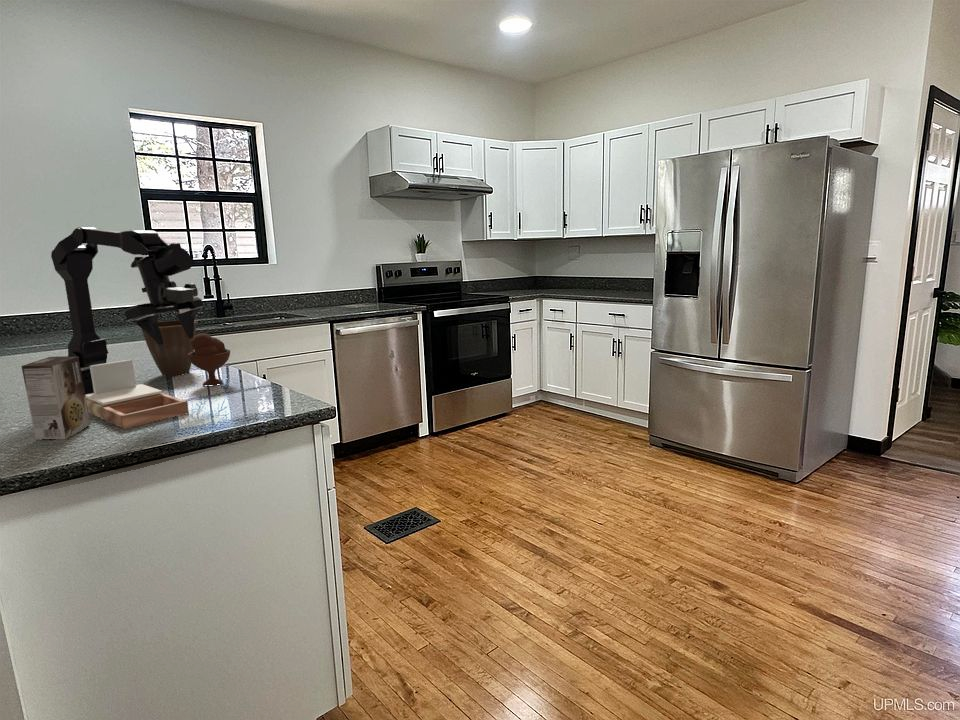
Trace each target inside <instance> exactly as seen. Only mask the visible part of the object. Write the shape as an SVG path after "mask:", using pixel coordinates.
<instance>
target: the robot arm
mask: <svg viewBox="0 0 960 720" xmlns="http://www.w3.org/2000/svg"><path fill="white" fill-rule="evenodd" d="M83 244H85V245H83ZM99 245H100V246H105V247H106V246H107V247H112V248H113V247H114V248H119V249H121V250H122V251H123V252H125V253H127V254H131V255H132V256H133V255H134V256H135V257H134V259H133V261H132V262H131V264H130V267H131V268H133V269H134V268H135V269H136V268H138V271H139V274H140V276H141V280H142V283H143V286H144V287H141V291H142V293H146V294H147V297H148V301H149V302H147V303H146V302H145V303H140V304H137V305H133V306H130V307H127V308H125V311H124V317H125V320H126V321H127V322H128V321H132V324H133V325H134V324H136V326H138V327H139V328H142V329H143V330H144V331H145V332H147V333H148V334H149V335H150V336H151V337H152V338H153V339H154V340H155V341H156V342H157V343H158V344H159V345H163V344H164V343H163V338H162V335H161V332H160V329H159V326H158V322H159V318H160V313H169V312H174V311H175V312H177V313H178V314H176V318H177V319H178V320H179V321H180V323H181V325H182V327H183V329H184V331H185V333H186V334H187V336H188V337H189V339H192V338H193V337H194V321H196V320H195V319H196V315H197V314H198V312H200V311H201V308H203V307H205V306H204V304H203V300H202V298H200V297H198V294H199V293H198V292H199V291H198V288H197V284H196V283H192V282H191V283H184V286H181V287H179V286H177V283H176V282H175V281H174V280H173V281H171V280H170V277H171V276H175V275H177V274H180V273H183V272H185V271H188V270H190V269H191V268H192V267H193V258H192V255H190V254H189V251H187V250H186V249H184V248H183V247H182V245H181V243H180V242H172V243H170V244H168V243H167V242H165V241H164V240H163V239H162V238H161V237H160V236H159V233H158V232H157V231H155V230H123V231H117V230H108V229H103V228H96V227H91V226H89V227H87V226H85V227H84V226H82V227H81V226H79V227H76V228H75V229H73V231H72V232H71V234H69V235H68V236H67V237H65V238H63V239H62V240H60V241H59V242H58V243H57V244H56V246H55V247H54V249H53V250H51V254H50V257H51V260H52V263H53V264H52V265H53V267H54V271H56V273H57V274H58V275H59V276H60V277H61V278H62V280H63V282H64V287H65V292H66V299H67V305H68V312H69V317H70V322H71V329H72V334H73V335H72V336H71V338H70V340H69V342H68V344H67V354H68V355H67V357H76V356H78V358H79V363H80V368H81V374H82V380H83V385H84V390H85V395H87V394H92V393H94V389H93V383H92V377H91V371H90V366H91V365H97V364H104V363H107V359H108V354H109V351H108V347H107V340H106V339H105V338H101V337H100V336H99V335H98V334H97V332H96V326H95V321H94V314H93V306H92V300H91V294H90V287H89V282H88V279H89V277H90V275H91V273H92V271H93V267H94V265H93V263H94V262H93V260H94V258H95V257H96V256H97V254H98V253H99V249H98V246H99ZM136 255H137V256H136ZM138 255H139V256H138ZM142 329H141V330H142Z"/></svg>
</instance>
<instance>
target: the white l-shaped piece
mask: <svg viewBox="0 0 960 720" xmlns="http://www.w3.org/2000/svg"><path fill="white" fill-rule="evenodd" d="M134 370H135V369H134V363H133V360H132V359H130V358H129V359H123V360H118V361H111V362H106V363H104V364H97V365H91V366H90V371H91V377H92V383H93V389H94V393H92V394H87V395H85V396H86V398H88V399H90V400H92V401H95V402H97V403H99V404H102V405H108V404H112V403H117V402H122V401H127V400H131V399H136V398H141V397H146V396H151V395H155V394H160V393H163V390H161V389H158V388H155V387H152V386H149V385H147V384H143V383H140V384H137V382H136V377H135V371H134Z"/></svg>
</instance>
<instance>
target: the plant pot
mask: <svg viewBox="0 0 960 720" xmlns="http://www.w3.org/2000/svg"><path fill="white" fill-rule="evenodd" d="M158 326H159V329H160V332H161V335H162V338H163V343H164V344H163V345H159V344H158V343H157V342H156V341H155V340H154V339H153V338H152V337H151V336H150V335H149V334H148V333H147V332H145V331H144V330H143V329H142V328H141V327H140V328H141V332H142V335H143V338H144V341H145V343H146V346H147V348H148V350H149V351H148V352H150V355H151V356H152V357H151V358H152V360H153V361H154V363H155V365H156V366H157V369H158V370H159V372H160V373H161V375H162V376H163V377H168V376H170V377H177V376H176V375H180V376H183V375H182V374H184V375H187V374H189V373H190V371H191V367H192V363H191V362H190V360H189V358H188V355H187V354H189V353H191V352H193V351H195V350H194V349H193V348H192V347H191V340H192V339H193V338H192V339H189V337H188V336H187V334H186V333H185V331H184V329H183V327H182V325H181V323H180V321H179V319H178V320H162V321H158ZM196 329H197V322H196V320H194V336H196V335H197V334H196ZM186 373H187V374H186Z"/></svg>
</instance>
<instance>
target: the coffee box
mask: <svg viewBox="0 0 960 720" xmlns="http://www.w3.org/2000/svg"><path fill="white" fill-rule="evenodd" d="M67 356H68V355H67ZM67 356H65V355H63V356H62V355H61V356H47V357H46V358H42V359H39V360H35V361H32V362H29V363H27V364H24V365H20V366H21V371H22V375H23V376H22V377H23V381H24V386H25V391H26V396H27V400H28V401H27V402H28V407H29V412H30V417H31V422H32V428H33V432H34V437H35V440H36V441H43V440H42V439H56V440H67V439H68V438H70V436H71V437H72V436H74V435H76V434H78V433H80V432H81V431H83V430H84V428H85V429H87V428H88V427H90V426H91V425H92V424H91V418H90V413H88V407H87V402H86V396H85V390H84V385H83V380H82V374H81V368H80V363H79V358H78V356H76V357H67ZM89 425H90V426H89ZM87 426H88V427H87ZM86 427H87V428H86ZM82 429H83V430H82ZM77 432H78V433H77ZM38 439H39V440H38Z"/></svg>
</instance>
